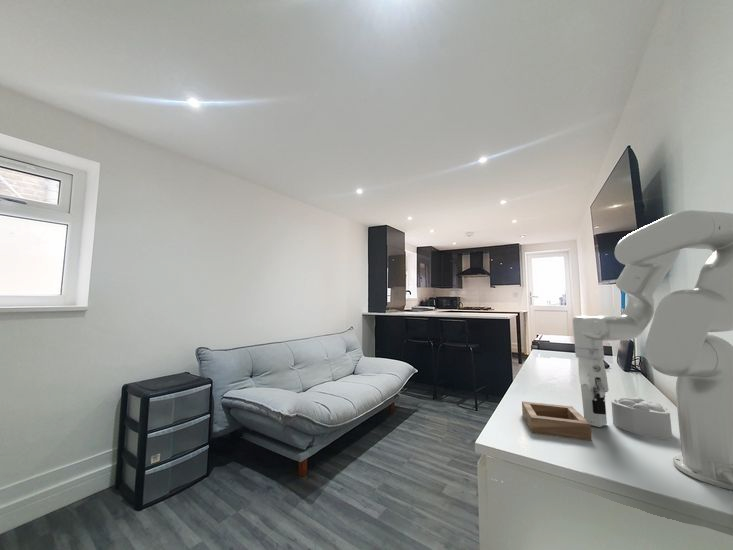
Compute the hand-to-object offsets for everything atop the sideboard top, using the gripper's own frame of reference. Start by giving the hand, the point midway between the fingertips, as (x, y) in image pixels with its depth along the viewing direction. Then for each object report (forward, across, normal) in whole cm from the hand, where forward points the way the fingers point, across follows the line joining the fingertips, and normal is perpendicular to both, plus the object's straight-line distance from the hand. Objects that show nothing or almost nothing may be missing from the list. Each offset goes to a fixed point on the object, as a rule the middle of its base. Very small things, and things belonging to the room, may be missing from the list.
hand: (594, 409), depth 93 cm
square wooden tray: (+5, -6, +13) cm, 15 cm away
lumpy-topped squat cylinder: (+5, 0, -12) cm, 13 cm away
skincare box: (+5, 0, 0) cm, 5 cm away
